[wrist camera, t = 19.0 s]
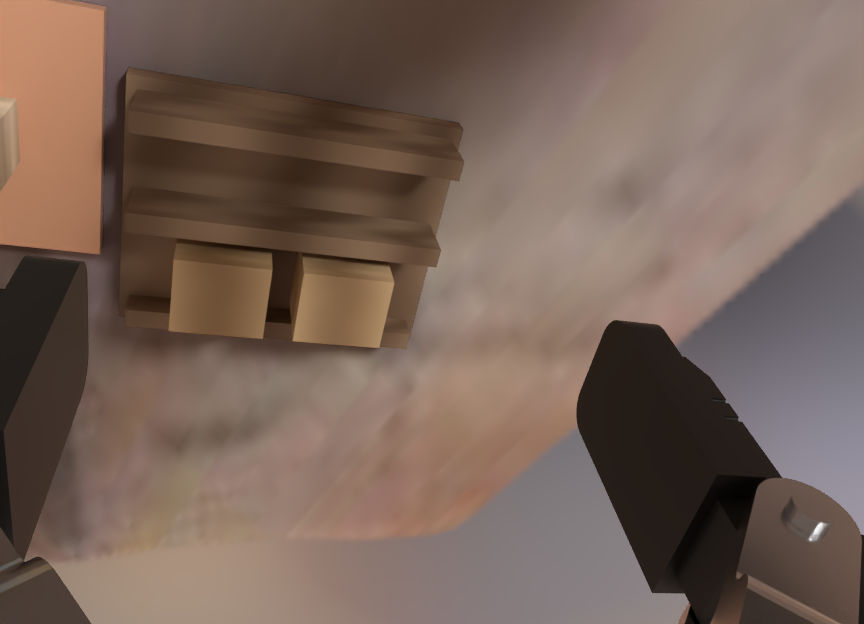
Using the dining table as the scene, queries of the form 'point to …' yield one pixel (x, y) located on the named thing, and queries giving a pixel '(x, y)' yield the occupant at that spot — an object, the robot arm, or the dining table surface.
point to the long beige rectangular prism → (8, 139)
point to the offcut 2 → (339, 300)
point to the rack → (277, 189)
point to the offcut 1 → (220, 289)
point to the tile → (55, 123)
